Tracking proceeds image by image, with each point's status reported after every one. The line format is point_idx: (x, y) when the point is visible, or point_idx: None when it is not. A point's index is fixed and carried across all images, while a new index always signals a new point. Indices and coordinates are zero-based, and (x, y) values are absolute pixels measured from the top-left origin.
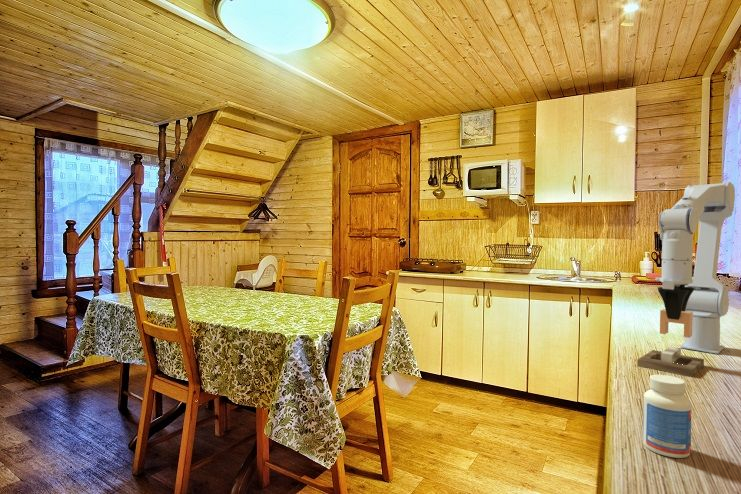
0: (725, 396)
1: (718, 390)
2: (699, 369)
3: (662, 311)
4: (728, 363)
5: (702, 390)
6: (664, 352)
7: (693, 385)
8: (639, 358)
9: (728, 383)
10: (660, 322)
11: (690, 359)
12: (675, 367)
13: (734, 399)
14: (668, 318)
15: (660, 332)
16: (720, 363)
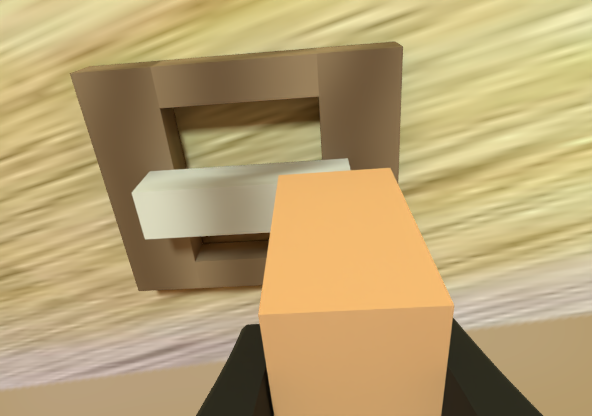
0: (33, 369)
1: (74, 350)
2: None
3: (265, 325)
4: (515, 308)
5: (21, 324)
6: (156, 202)
7: (45, 297)
8: (100, 72)
9: (189, 353)
10: (273, 226)
11: None
12: (124, 237)
13: (31, 385)
14: (242, 330)
15: (279, 183)
16: (490, 290)
